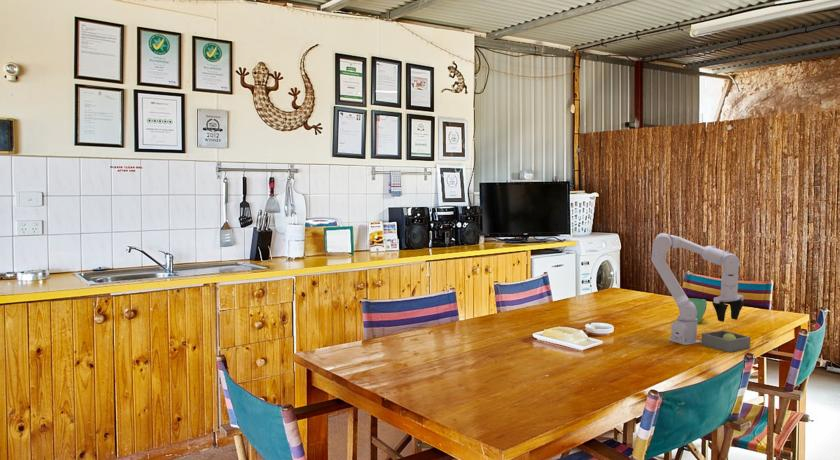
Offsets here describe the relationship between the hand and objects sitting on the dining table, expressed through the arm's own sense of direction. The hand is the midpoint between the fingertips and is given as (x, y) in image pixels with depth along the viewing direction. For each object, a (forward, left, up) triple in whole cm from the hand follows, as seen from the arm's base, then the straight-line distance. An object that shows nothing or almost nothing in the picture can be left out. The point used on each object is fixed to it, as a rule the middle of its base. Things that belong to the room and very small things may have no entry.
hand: (727, 320), depth 243 cm
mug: (+24, +33, -10) cm, 42 cm away
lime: (-1, -2, -9) cm, 10 cm away
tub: (-2, -1, -10) cm, 10 cm away
